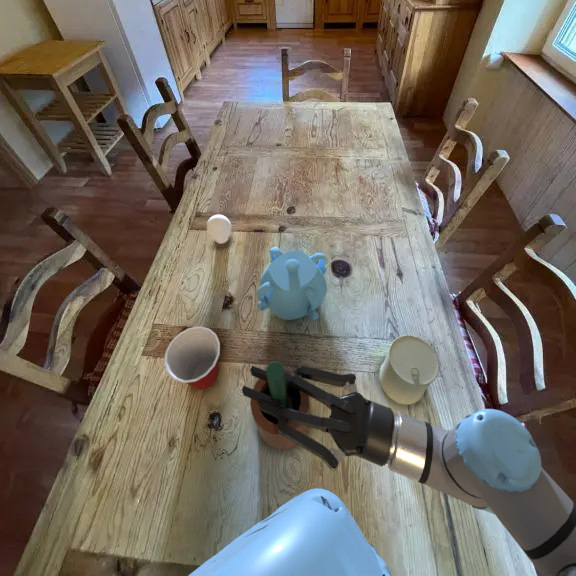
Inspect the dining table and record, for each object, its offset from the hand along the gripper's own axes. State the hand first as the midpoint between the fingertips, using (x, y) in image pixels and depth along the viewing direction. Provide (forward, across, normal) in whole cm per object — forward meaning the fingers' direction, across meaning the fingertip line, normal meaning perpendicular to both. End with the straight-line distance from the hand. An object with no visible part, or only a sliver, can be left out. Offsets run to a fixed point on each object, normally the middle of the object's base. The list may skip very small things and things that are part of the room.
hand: (248, 380), depth 57 cm
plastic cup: (+14, +2, -17) cm, 22 cm away
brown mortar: (-6, 0, -17) cm, 18 cm away
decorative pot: (+1, +26, -17) cm, 31 cm away
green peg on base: (-5, 0, -12) cm, 13 cm away
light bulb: (+27, +35, -17) cm, 47 cm away
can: (-27, +15, -17) cm, 35 cm away
